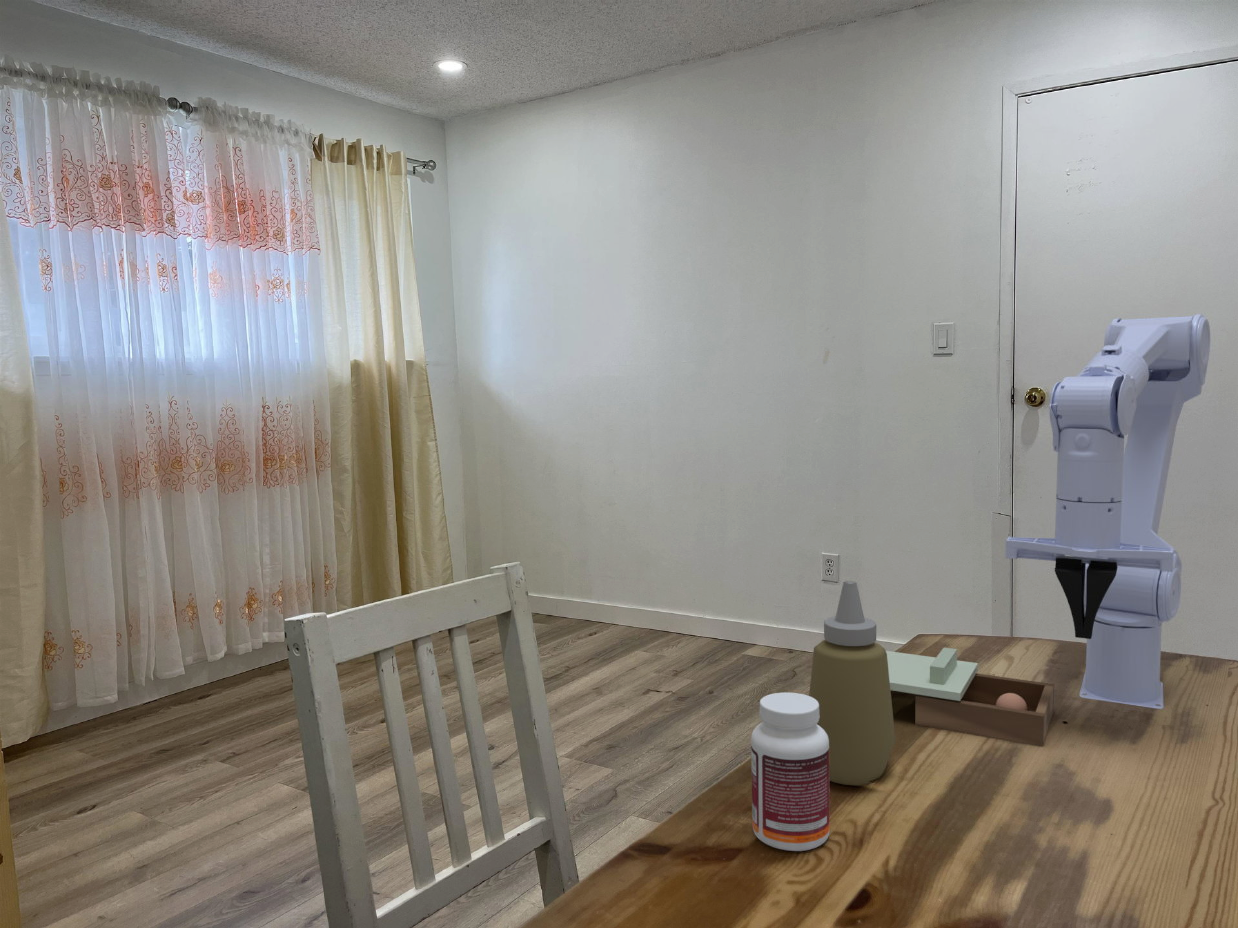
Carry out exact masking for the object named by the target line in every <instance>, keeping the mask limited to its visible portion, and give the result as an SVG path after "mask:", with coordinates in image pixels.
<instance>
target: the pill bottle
mask: <svg viewBox="0 0 1238 928" xmlns="http://www.w3.org/2000/svg"><path fill="white" fill-rule="evenodd" d="M758 715H759V719H760V721H761V722H760V723H759V724H758V725H756V727H755V728H754V729H753V731H752V733H751V737H750V750H751V751H750V754H751V759H750V760H751V762H750V763H751V813H752V815H751V818H752V819H751V820H752V821H751V822H752V823H751V824H752V830H753V833H754V835H755V836H756V838H758V840H759V841H761V842H762V843H764V845H765V844H766V845H767V846H770V847H771V848H775V849H779V850H782V851H783V850H784V851H791V852H803V851H804V852H805V851H809V850H812V849H815V848H817V847H820V846H821V845H823V844H824V843H825V842H826V841H827V840H828V837H829V836H830V832H831V831H830V828H831V826H830V825H831V822H830V821H831V820H830V818H831V817H830V816H831V815H830V814H831V812H830V809H831V808H830V805H831V804H830V802H831V801H830V799H831V798H830V792H831V791H830V790H831V789H830V780H829V739H828V736H827V734H826V732H825V731H824V730H823V729H822V728H821V727H820V726H819V725H817V723H818V722H819V718H820V715H819V703H818V701H817V700H816V699H814V698H812V697H810V696H809V695H807V694H804V693H799V692H798V693H796V692H786V691H785V692H775V693H770V694H766V695H765V696H763V697H762V698H760V700H759V714H758Z"/></svg>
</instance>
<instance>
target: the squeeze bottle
mask: <svg viewBox="0 0 1238 928" xmlns="http://www.w3.org/2000/svg"><path fill="white" fill-rule="evenodd" d="M858 588H859V587H858V584H857V582H856V581H852V580H850V581H848V580H846V581H843V582H842V588H841V591H840V595H839V596H840V597H839V600H838V605H837V610H836V614H835V616H831V617H827V618H826V619H825V620H823V639H822V641H820V642H819V643H818V644H817V645H815V646H814V647H813V654H812V662H811V663H812V664H811V674H810V683H809V693H808V696H810V697H812V698H814V699H816V700H817V701H818V703H819V715H820V718H819V722H818V723H817V725H819V726H820V727H821V728H822V729H823V730H824V731H825V732H826V734H827V736H828V739H829V782H832V783H836V784H839V785H840V784H841V785H844V786H867V785H871V784H874V782H873V781H874V780H877V779H879V778H881V777H882V775H883V774H884V773H885V770H886V767H887V764H888V761H889V759H890V757H891V754H892V751H893V748H894V745H895V743H896V734H895V725H894V723H895V722H894V714H893V713H894V711H893V702H892V694H891V693H892V692H891V691H892V690H890V681H889V670H888V660H887V653H886V651H887V650H886V649H885V648H884V647H883V646H882V645H881V644H879V643H878V642H876V641H877V623H876V622H875V621H874V620H872V619H871V618H868V617H865V614H864V611H863V605H862V602H861V598H860V592H859V589H858Z"/></svg>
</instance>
